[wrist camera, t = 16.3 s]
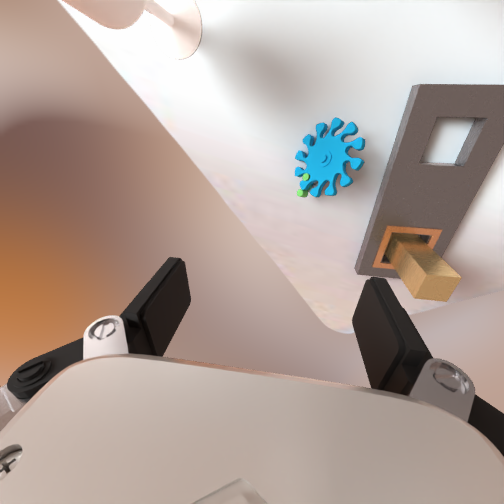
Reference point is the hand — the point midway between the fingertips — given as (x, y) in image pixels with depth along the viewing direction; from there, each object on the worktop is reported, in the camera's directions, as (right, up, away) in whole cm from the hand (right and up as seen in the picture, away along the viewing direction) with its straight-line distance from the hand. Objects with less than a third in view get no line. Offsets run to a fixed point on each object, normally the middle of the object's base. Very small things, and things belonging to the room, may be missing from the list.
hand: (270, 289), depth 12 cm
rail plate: (+25, +10, +23) cm, 35 cm away
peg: (+25, +4, +27) cm, 37 cm away
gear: (+9, +16, +22) cm, 29 cm away
